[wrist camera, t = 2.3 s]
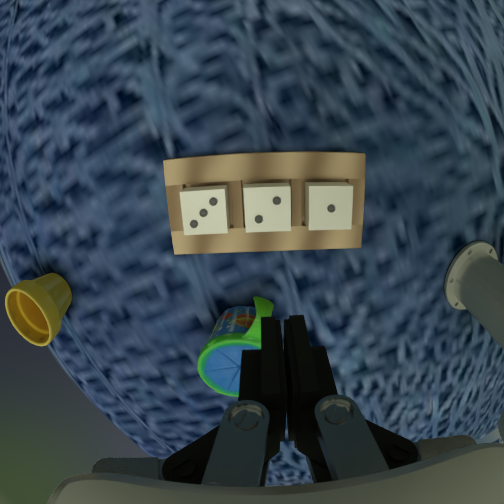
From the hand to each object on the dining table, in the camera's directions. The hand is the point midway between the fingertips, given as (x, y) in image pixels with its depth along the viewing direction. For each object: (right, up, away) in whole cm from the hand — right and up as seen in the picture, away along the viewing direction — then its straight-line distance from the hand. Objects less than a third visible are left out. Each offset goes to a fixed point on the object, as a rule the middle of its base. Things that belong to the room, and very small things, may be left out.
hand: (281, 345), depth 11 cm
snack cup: (-3, -7, +32) cm, 33 cm away
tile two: (+1, +9, +23) cm, 25 cm away
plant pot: (-35, -3, +31) cm, 47 cm away
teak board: (+1, +10, +25) cm, 27 cm away
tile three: (-6, +9, +23) cm, 26 cm away
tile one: (+8, +10, +23) cm, 26 cm away
